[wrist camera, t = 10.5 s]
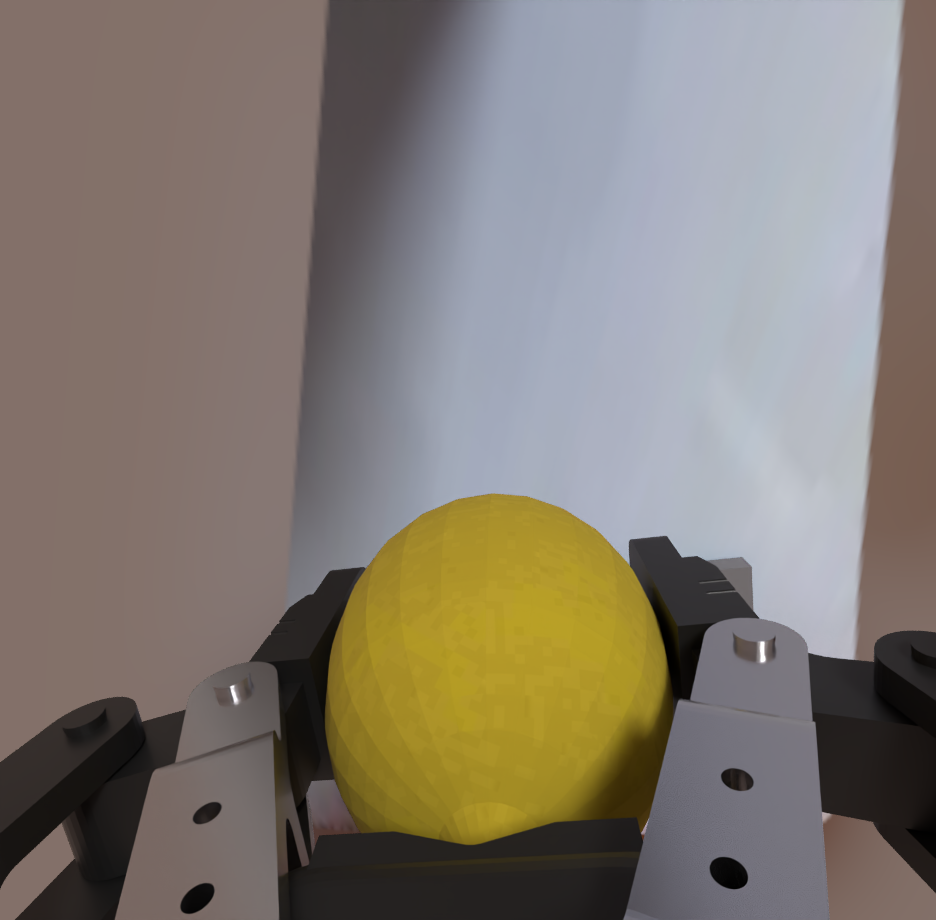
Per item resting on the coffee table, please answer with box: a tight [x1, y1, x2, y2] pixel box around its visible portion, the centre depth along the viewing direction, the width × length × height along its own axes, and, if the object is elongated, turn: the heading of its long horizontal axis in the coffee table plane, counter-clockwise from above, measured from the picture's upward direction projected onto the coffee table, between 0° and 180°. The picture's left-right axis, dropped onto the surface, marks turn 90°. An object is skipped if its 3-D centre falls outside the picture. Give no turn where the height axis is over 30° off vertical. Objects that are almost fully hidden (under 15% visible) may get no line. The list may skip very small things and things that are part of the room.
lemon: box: [325, 494, 674, 845], centre depth 10 cm, size 6×6×8 cm
